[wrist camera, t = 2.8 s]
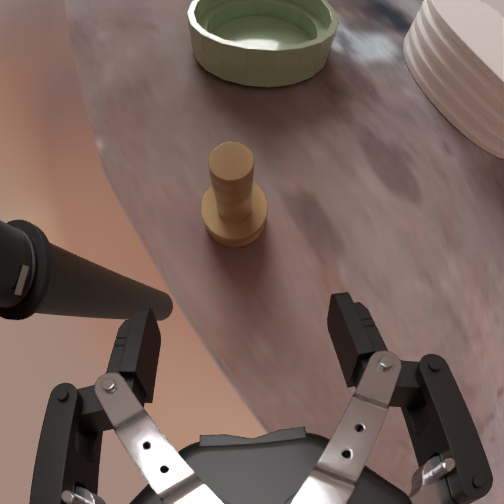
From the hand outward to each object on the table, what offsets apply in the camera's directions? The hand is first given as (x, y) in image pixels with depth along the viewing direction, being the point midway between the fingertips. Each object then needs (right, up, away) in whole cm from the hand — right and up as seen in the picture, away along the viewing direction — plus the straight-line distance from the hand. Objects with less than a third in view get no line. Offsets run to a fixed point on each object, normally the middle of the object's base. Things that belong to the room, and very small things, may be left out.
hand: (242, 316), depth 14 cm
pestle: (-1, +6, +15) cm, 17 cm away
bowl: (+2, +30, +21) cm, 36 cm away
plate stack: (+37, +30, +22) cm, 52 cm away
